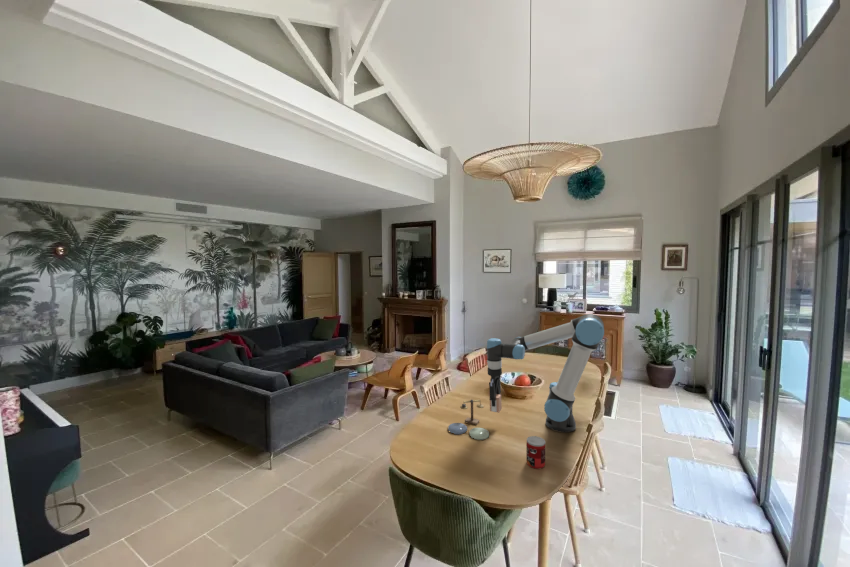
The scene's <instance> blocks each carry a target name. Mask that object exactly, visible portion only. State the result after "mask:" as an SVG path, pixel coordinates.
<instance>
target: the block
mask: <svg viewBox="0 0 850 567" xmlns="http://www.w3.org/2000/svg"><path fill="white" fill-rule="evenodd" d="M500 394H501V393H500ZM500 394H496V400H497V412H496V413H497V414H498V413H500V412H501V411H502V409H503V408H502V407H503V405H502V404H503V403H502V394H501V395H500ZM489 411H490V412H493V411H492V410H491V400H489Z"/></svg>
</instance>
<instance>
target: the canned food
mask: <svg viewBox="0 0 850 567" xmlns="http://www.w3.org/2000/svg"><path fill="white" fill-rule="evenodd" d="M525 443H526V457H525V458H526V464H527V465H528V466H529V467H530V468H532V469H537V470H539V469H543V468H544V467H545V466H546V440H545V439H544V438H543V437H540V436H537V435H531V436H528V437H527V438H526V442H525Z"/></svg>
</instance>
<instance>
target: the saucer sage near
mask: <svg viewBox="0 0 850 567" xmlns="http://www.w3.org/2000/svg"><path fill="white" fill-rule="evenodd" d="M468 432H469V434H468V435H469V436H471V437H470V438H472V439H473V438H474V440H477V441H483V440H487V439H488V438H490V432H489V430H488V429H486V428H483V427H473V428H471V429H470V430H469V431H468Z"/></svg>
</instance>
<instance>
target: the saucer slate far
mask: <svg viewBox="0 0 850 567" xmlns="http://www.w3.org/2000/svg"><path fill="white" fill-rule="evenodd" d="M467 426H468V425H466V424H465V423H461V422H453V423H450V424H449V425H448V427H447V429H448V432H449V431H450V432H451V433H450V432H449V433H450V434H452V433H454V435H463V433H464V434H465V432H466V431H468V427H467ZM466 433H467V432H466Z"/></svg>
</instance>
